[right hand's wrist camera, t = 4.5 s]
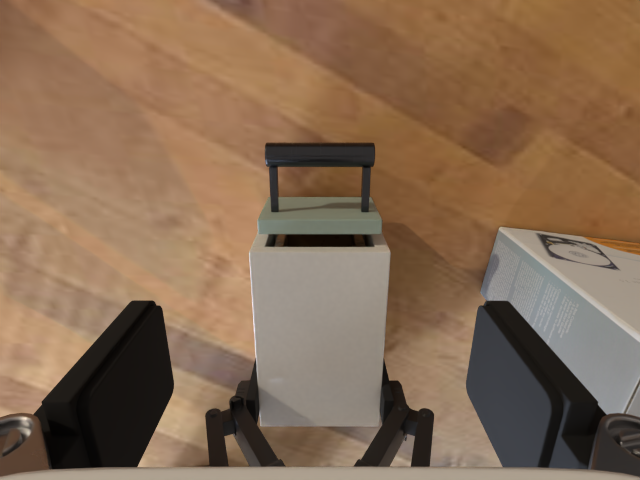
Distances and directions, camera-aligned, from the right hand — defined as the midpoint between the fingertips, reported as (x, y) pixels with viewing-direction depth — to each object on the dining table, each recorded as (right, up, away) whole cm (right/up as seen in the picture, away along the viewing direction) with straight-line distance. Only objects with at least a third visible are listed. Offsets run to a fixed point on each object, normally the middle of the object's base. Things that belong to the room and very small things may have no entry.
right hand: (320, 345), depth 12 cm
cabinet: (0, -3, +30) cm, 30 cm away
